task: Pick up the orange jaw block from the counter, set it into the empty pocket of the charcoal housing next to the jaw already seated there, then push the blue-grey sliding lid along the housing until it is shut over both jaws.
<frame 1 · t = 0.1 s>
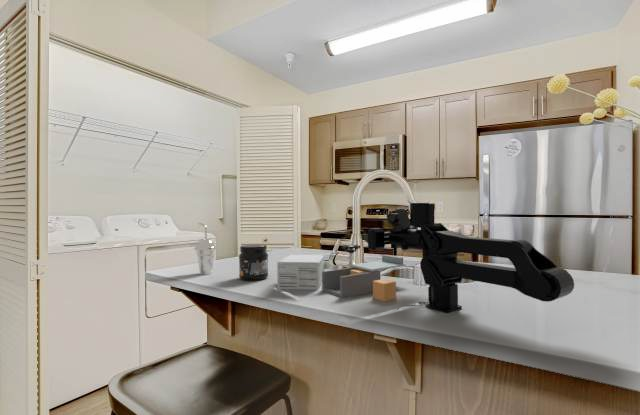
hand: (374, 235, 107), 17 cm above the countertop, tool horizontal, fingers open, 9 cm apart
cup with straw: (206, 273, 133), on the countertop
housing: (351, 292, 101), on the countertop
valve: (351, 279, 120), on the countertop
lid: (378, 262, 107), point 8 cm above the countertop, slide at 11.0 cm
supplement box: (302, 286, 111), on the countertop
supplement container: (253, 278, 123), on the countertop
jaw b: (384, 301, 92), on the countertop
jaw a: (360, 288, 103), point 1 cm above the countertop, touching housing
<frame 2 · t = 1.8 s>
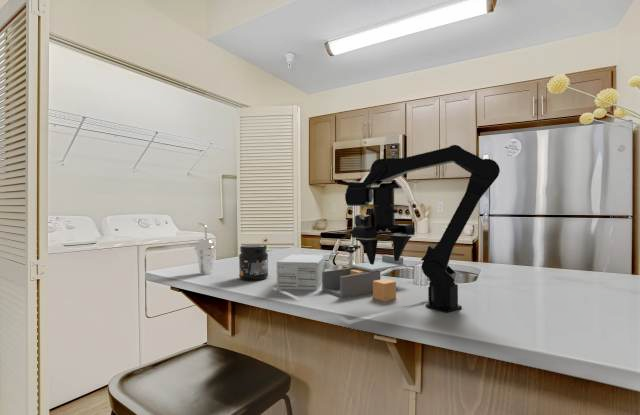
hand: (384, 262, 92), 11 cm above the countertop, tool pointing down, fingers open, 9 cm apart
nothing on the countertop moved.
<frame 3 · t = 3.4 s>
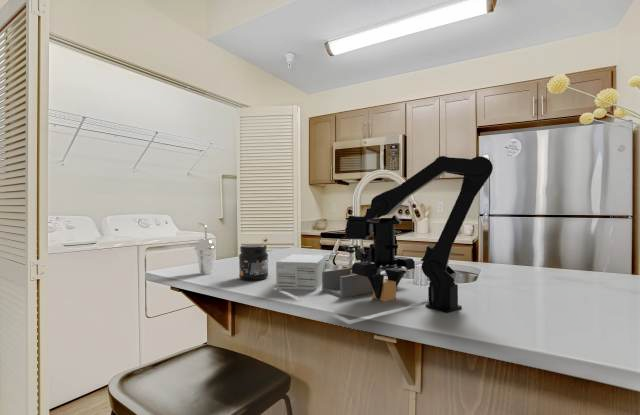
hand: (384, 297, 92), 1 cm above the countertop, tool pointing down, fingers closed on jaw b, 4 cm apart
jaw b: (384, 301, 92), on the countertop, touching gripper
everything else where it was.
when the fingers open (3 cm above the countertop, at t = 6.6 s): jaw b drops 1 cm, resting on housing.
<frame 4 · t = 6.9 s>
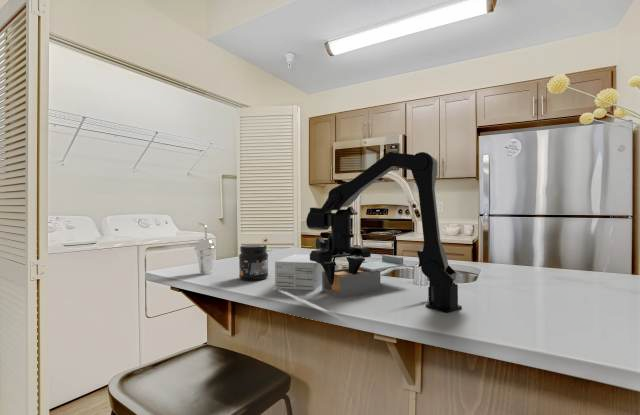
hand: (341, 283, 99), 3 cm above the countertop, tool pointing down, fingers open, 7 cm apart
jaw b: (341, 291, 99), point 1 cm above the countertop, touching housing
jaw a: (360, 288, 103), point 1 cm above the countertop, touching gripper, housing
everything else where it was.
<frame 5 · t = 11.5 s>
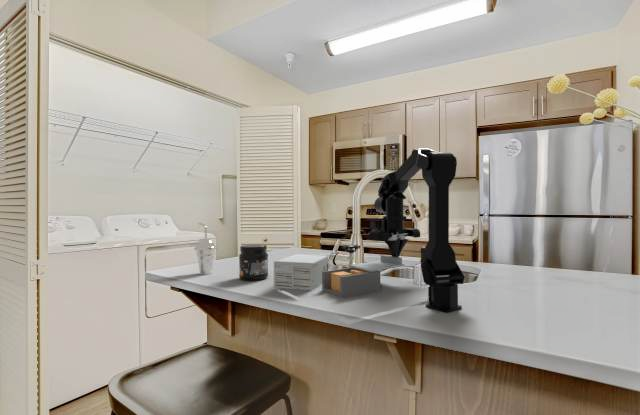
hand: (395, 260, 111), 8 cm above the countertop, tool pointing down, fingers closed
lid: (376, 262, 107), point 8 cm above the countertop, slide at 10.4 cm, touching gripper
jaw a: (360, 288, 103), point 1 cm above the countertop, touching housing
everything else where it was.
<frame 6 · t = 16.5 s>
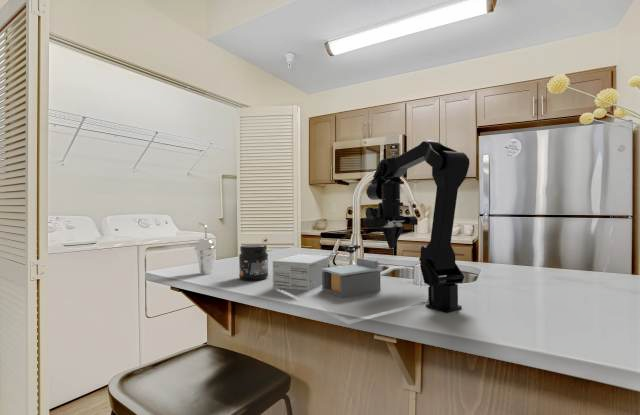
hand: (391, 248, 106), 12 cm above the countertop, tool pointing down, fingers closed
lid: (351, 266, 101), point 8 cm above the countertop, slide at 0.0 cm
at the end: jaw b inside the target area (0.0 cm from its centre), point 0.8 cm above the countertop; jaw b tilted 0°; lid slide at 0.0 cm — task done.
